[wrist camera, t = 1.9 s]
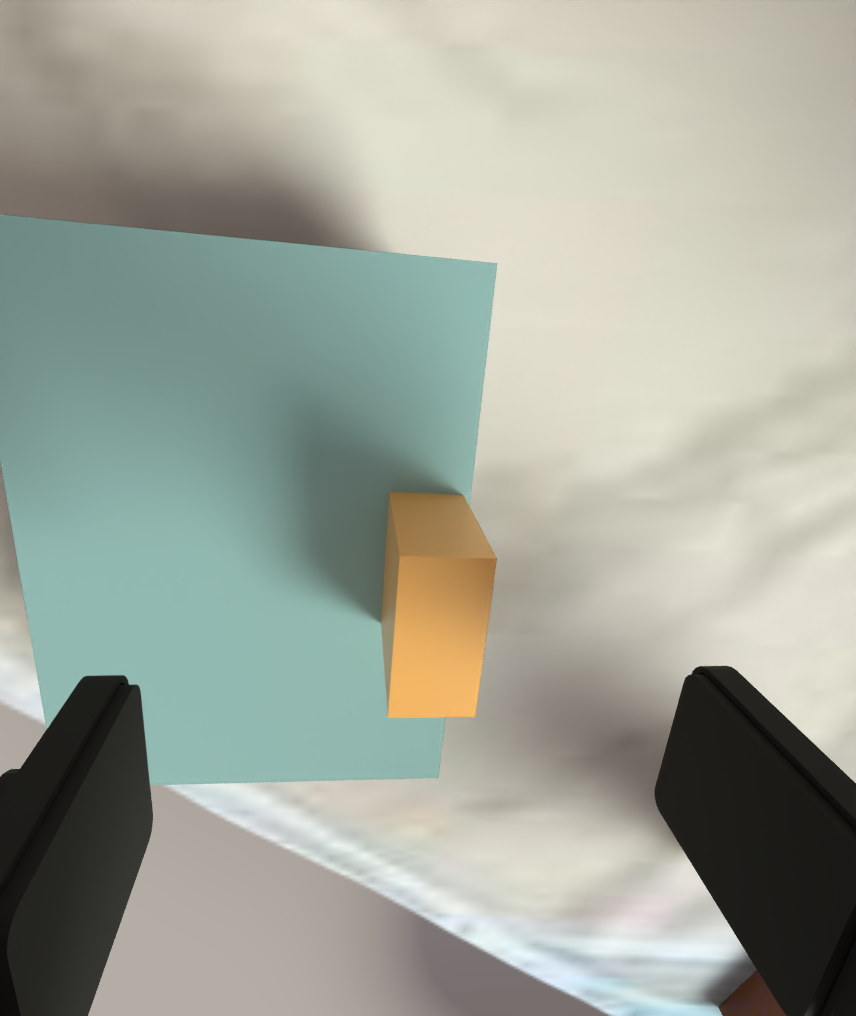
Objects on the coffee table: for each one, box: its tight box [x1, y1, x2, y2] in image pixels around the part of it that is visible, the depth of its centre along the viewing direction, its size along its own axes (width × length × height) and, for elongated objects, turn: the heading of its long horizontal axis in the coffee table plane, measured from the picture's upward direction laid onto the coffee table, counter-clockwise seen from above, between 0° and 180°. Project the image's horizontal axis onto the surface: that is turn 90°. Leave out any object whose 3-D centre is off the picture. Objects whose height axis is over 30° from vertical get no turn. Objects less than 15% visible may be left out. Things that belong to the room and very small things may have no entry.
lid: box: [0, 214, 497, 785], centre depth 14 cm, size 12×16×6 cm
